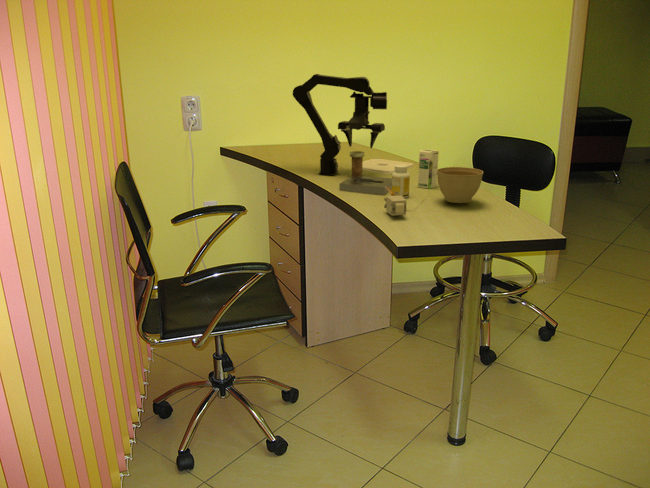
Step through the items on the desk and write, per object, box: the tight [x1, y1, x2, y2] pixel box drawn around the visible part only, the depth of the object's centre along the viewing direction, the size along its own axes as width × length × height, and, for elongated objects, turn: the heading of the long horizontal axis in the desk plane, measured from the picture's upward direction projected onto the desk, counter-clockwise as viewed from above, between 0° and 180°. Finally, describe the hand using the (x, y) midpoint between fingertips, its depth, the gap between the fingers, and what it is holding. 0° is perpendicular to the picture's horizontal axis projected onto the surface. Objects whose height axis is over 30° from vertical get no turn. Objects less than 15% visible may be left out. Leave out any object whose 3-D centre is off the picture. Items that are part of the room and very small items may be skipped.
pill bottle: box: [391, 165, 411, 199], centre depth 225 cm, size 6×6×12 cm
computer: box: [350, 158, 414, 175], centre depth 274 cm, size 22×22×3 cm
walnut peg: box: [349, 150, 365, 177], centre depth 252 cm, size 6×6×12 cm
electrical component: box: [383, 187, 408, 216], centre depth 213 cm, size 24×6×5 cm, turn 10°
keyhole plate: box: [338, 175, 392, 196], centre depth 239 cm, size 18×16×3 cm
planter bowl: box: [437, 166, 484, 204], centre depth 220 cm, size 16×16×11 cm
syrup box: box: [417, 149, 440, 190], centre depth 240 cm, size 6×6×14 cm
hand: (360, 147), depth 254 cm, fingers open, 9 cm apart
